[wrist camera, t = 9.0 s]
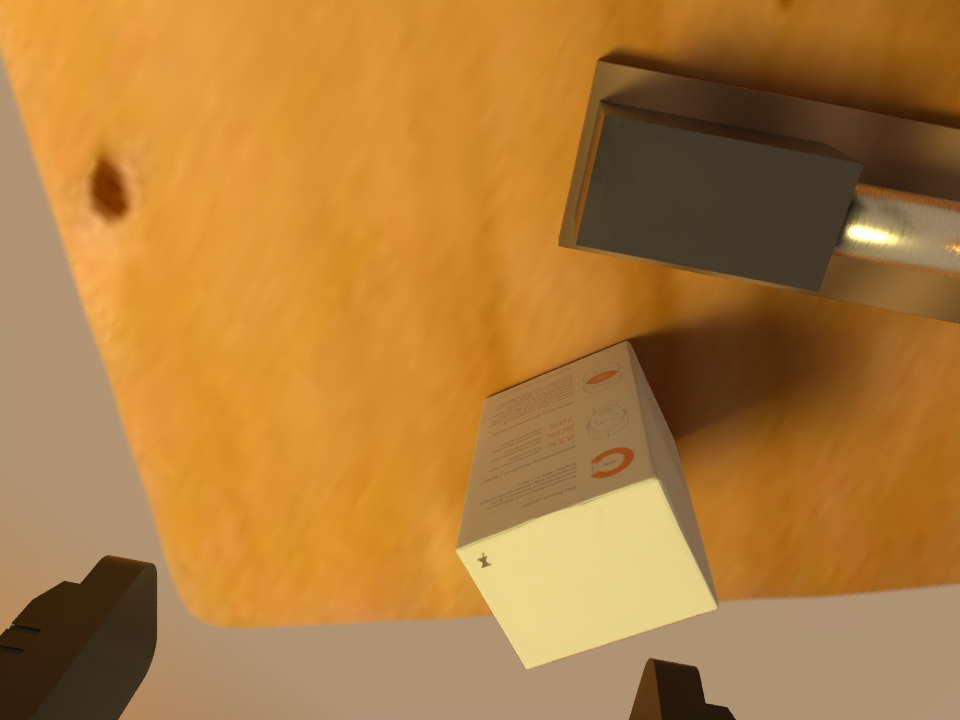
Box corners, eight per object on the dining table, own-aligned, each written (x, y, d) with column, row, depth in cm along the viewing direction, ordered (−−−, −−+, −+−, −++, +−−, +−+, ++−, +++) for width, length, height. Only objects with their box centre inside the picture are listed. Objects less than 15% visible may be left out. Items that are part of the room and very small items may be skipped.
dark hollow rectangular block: (574, 215, 37) (575, 244, 33) (599, 100, 36) (604, 114, 31) (787, 256, 37) (818, 292, 33) (825, 143, 35) (863, 163, 31)
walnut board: (558, 239, 39) (558, 246, 38) (597, 59, 36) (598, 61, 35) (1082, 340, 39) (1097, 350, 38) (1168, 168, 36) (1188, 173, 34)
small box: (534, 496, 45) (523, 675, 33) (481, 397, 43) (448, 550, 31) (679, 442, 43) (723, 612, 31) (630, 335, 41) (658, 473, 29)
